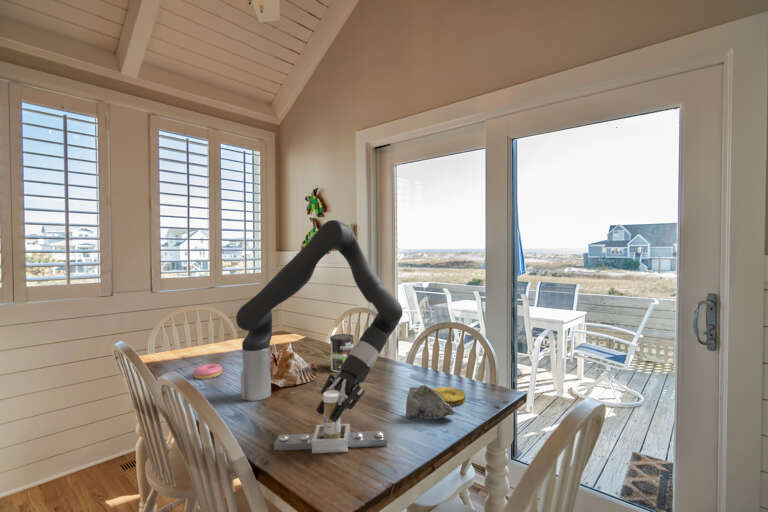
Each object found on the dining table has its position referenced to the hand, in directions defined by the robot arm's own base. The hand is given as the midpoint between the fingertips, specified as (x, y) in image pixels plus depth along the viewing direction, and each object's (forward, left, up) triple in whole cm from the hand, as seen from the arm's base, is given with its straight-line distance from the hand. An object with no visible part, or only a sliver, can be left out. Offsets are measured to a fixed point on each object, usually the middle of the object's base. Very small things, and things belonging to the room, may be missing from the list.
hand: (325, 416), depth 97 cm
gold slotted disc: (+37, +27, -8) cm, 47 cm away
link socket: (+1, +1, -8) cm, 8 cm away
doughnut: (-57, +61, -8) cm, 84 cm away
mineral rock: (+29, +13, -8) cm, 33 cm away
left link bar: (-8, +1, -8) cm, 11 cm away
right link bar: (+11, +1, -8) cm, 13 cm away
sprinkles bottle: (+2, +1, -8) cm, 8 cm away
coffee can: (-1, +64, -8) cm, 65 cm away
